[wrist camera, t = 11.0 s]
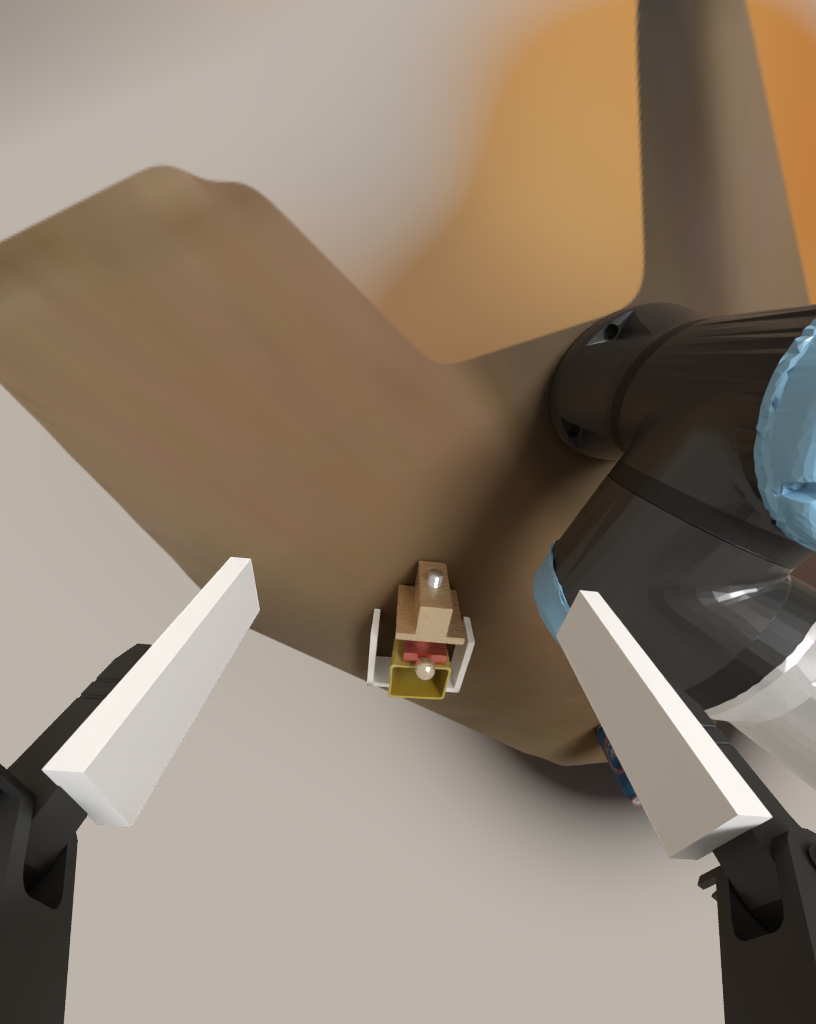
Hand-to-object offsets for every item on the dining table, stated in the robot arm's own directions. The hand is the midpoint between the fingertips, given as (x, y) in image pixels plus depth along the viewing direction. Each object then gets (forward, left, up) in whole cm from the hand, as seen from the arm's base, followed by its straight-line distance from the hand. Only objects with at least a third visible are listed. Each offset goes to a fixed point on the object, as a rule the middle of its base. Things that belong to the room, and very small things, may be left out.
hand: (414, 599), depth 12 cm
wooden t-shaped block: (-5, +23, -26) cm, 35 cm away
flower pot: (-5, +33, -27) cm, 43 cm away
